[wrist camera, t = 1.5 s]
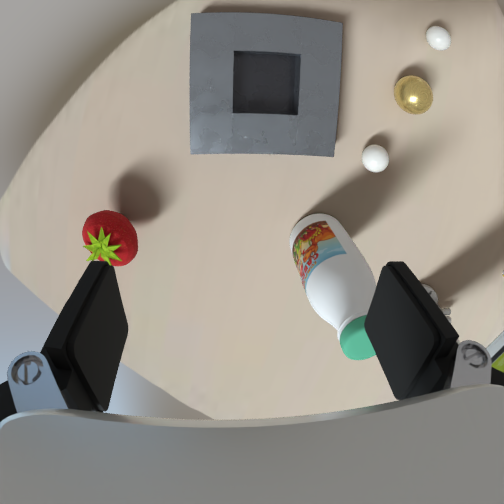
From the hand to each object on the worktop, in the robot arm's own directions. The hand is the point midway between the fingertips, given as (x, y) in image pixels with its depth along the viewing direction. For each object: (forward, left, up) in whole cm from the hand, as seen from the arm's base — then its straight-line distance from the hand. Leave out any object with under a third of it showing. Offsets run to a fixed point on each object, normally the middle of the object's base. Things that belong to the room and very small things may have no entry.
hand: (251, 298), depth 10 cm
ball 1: (-17, +1, -27) cm, 32 cm away
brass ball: (-21, -8, -26) cm, 35 cm away
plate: (-3, -7, -29) cm, 30 cm away
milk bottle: (-11, +13, -29) cm, 34 cm away
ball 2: (-25, -17, -27) cm, 41 cm away
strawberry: (+15, +10, -29) cm, 34 cm away
